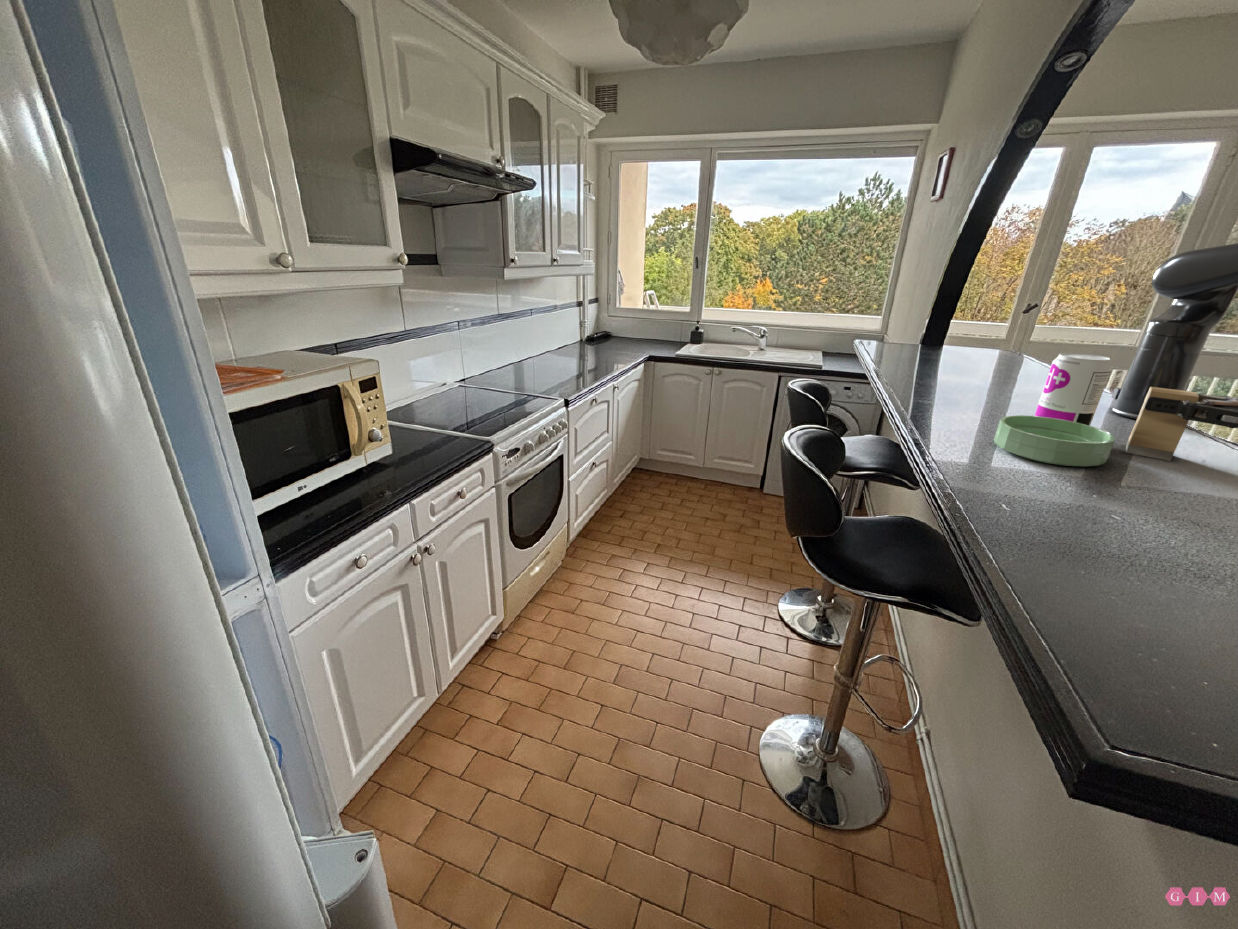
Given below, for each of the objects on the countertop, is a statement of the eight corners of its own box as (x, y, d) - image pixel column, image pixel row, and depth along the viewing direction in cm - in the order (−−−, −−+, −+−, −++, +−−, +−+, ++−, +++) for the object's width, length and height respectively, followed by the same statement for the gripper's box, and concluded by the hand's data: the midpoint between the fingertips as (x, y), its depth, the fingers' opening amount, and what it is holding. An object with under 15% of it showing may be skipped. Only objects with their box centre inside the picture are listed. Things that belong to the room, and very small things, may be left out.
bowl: (986, 433, 97) (993, 411, 95) (1086, 446, 91) (1095, 422, 89) (1002, 459, 84) (1010, 434, 83) (1120, 476, 78) (1131, 449, 77)
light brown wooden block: (1125, 446, 91) (1150, 386, 87) (1168, 454, 88) (1196, 392, 84) (1125, 452, 88) (1151, 390, 84) (1170, 460, 85) (1199, 396, 81)
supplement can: (1040, 439, 94) (1068, 358, 88) (1022, 426, 101) (1047, 351, 96) (1093, 444, 92) (1125, 361, 86) (1070, 431, 99) (1098, 354, 94)
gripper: (1305, 388, 79) (1152, 372, 90) (1331, 406, 69) (1157, 385, 80) (1280, 434, 82) (1136, 413, 93) (1303, 456, 72) (1138, 430, 83)
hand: (1146, 400), depth 86 cm, fingers closed on light brown wooden block, 4 cm apart
